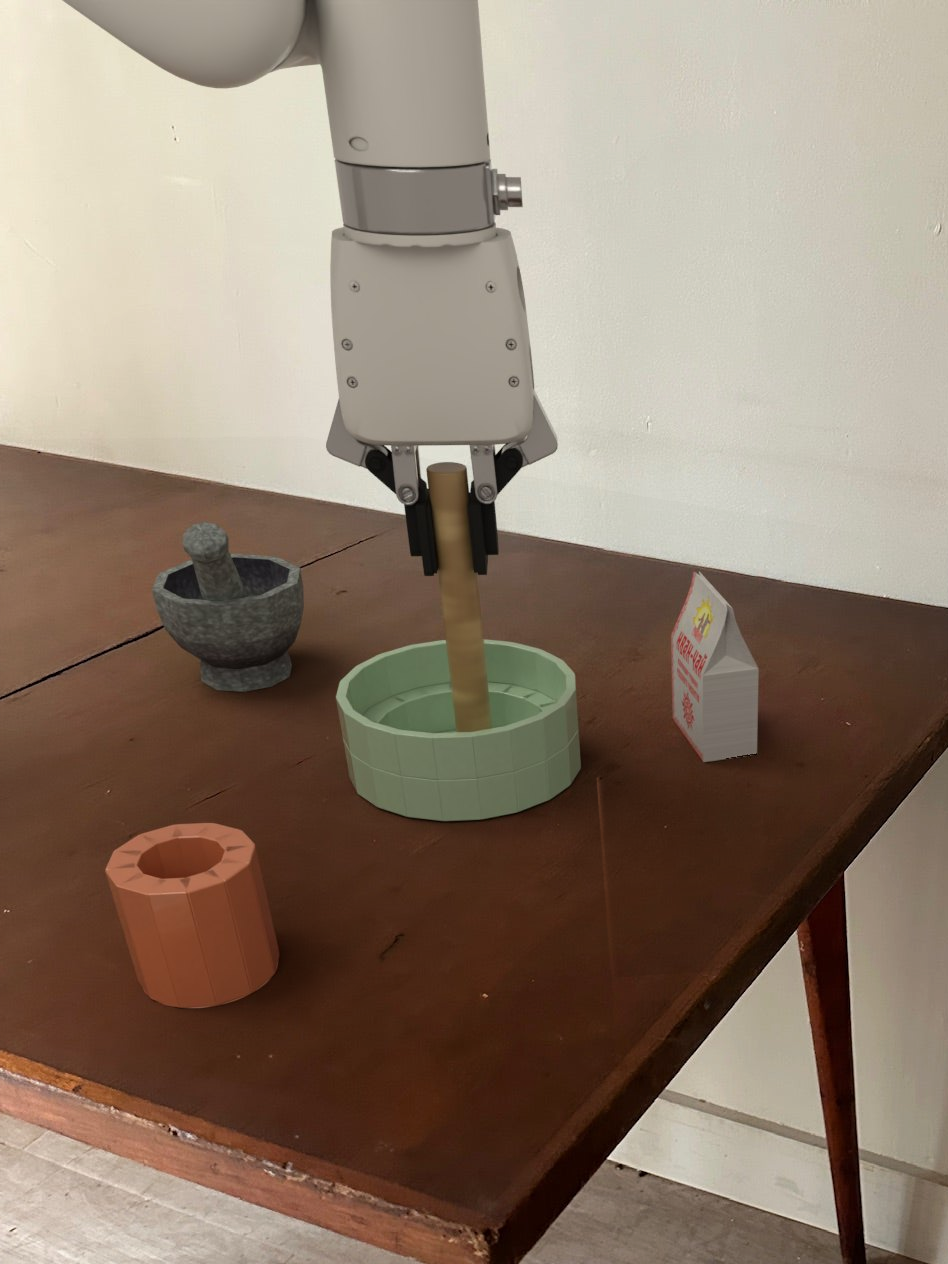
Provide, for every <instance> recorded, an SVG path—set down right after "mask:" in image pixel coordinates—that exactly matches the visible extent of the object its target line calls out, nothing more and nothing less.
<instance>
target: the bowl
mask: <svg viewBox="0 0 948 1264" xmlns="http://www.w3.org/2000/svg"><path fill="white" fill-rule="evenodd" d="M483 639H484V638H483ZM484 649H485V659H486V670H487V680H488V690H489V700H490V710H491V721H492V728H491V729H486V730H480V731H474V732H456V724H455V715H454V707H453V698H452V689H451V681H450V672H449V663H448V654H447V646H446V639H441V640H434V641H427V642H422V643H421V642H420V643H413V644H408V645H405V646H402V647H398V648H395V649H392V650H388V651H385V652H382V653H379V654H376V655H374V656H373V657H371V658H369V659H367V660H365V661H363V662H361V663H359V664H357V665H355V666H354V667H353V668H352V669H350V671H349V672H348V673H347V674H345V676H344V677H343V678H341V679H340V681H339V683H338V687H337V691H336V694H335V701H336V707H337V714H338V718H339V724H340V730H341V735H342V742H343V747H344V753H345V760H346V765H347V770H348V776H349V777H348V778H349V779H350V781H351V783H352V786H353V787H354V789H355V791H356V793H357V794H358V796H360V797H362V798H363V799H365V800H366V801H367V802H369V803H370V804H372V805H373V806H374V807H376V808H378V809H380V810H384V811H387V812H391V813H393V814H397V815H400V816H404V817H406V818H412V819H413V818H414V819H421V820H422V819H423V820H429V821H438V822H439V821H440V822H455V821H457V822H458V821H480V820H486V819H492V818H497V817H502V816H506V815H512V814H516V813H519V812H523V811H525V810H527V809H530V808H532V807H536V806H538V805H540V804H543V803H546V802H548V801H550V800H551V799H553V798H555V797H556V796H557V795H559V794H560V793H561V792H563V791H565V790H566V789H567V788H569V787H570V786H571V785H572V784H573V782H574V780H575V778H576V777H577V776H578V774H579V772H580V771H581V769H582V761H581V760H582V759H581V746H580V745H581V744H580V729H579V714H578V698H577V680H576V679H577V678H576V674H575V672H574V671H573V669H571V667H569V665H568V664H567V663H566V661H564V660H563V659H562V658H559V657H557V656H556V655H554V654H552V653H550V652H548V651H546V650H544V649H541V648H538V647H534V646H530V645H527V644H523V643H518V642H514V641H505V640H495V639H487V638H485V639H484Z"/></svg>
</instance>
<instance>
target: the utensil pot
mask: <svg viewBox="0 0 948 1264" xmlns="http://www.w3.org/2000/svg"><path fill="white" fill-rule="evenodd" d="M104 871H105V875H106V879H107V882H108V885H109V889H110V892H111V895H112V898H113V902H114V905H115V908H116V909H115V910H116V912H117V916H118V919H119V922H120V925H121V928H122V933H123V935H124V938H125V942H126V945H127V948H128V952H129V955H130V959H131V962H132V965H133V969H134V972H135V974H136V975H135V976H136V978H137V982H138V983H139V985H140V986H141V988H142V989H143V992H144V993H145V994H146V995H147V996H148V998H149V999H150V1000H152V1001H155V1002H157V1003H159V1004H162V1005H164V1006H169V1007H173V1008H174V1007H175V1008H178V1009H179V1008H181V1009H203V1008H210V1007H211V1008H213V1007H216V1006H221V1005H225V1004H226V1005H227V1004H230V1003H232V1002H236V1001H238V1000H241V999H243V998H246V997H247V996H249V995H252V994H253V993H255V992H256V991H258V990H260V989H261V988H262V987H263V986H265V985H266V984H267V983H268V982H269V981H270V980H271V979H272V978H273V976H274V975H275V974H276V971H277V969H278V966H279V959H280V955H281V953H280V950H279V945H278V940H277V935H276V931H275V927H274V922H273V919H272V913H271V910H270V904H269V901H268V895H267V892H266V887H265V883H264V878H263V874H262V869H261V865H260V860H259V855H258V851H257V847H256V844H255V843H254V841H252V840H251V839H250V838H249V836H248V835H247V834H246V833H245V832H244V831H243V830H241V829H240V828H235V827H231V826H228V825H223V824H219V823H216V822H197V823H176V824H171V825H167V826H164V827H161V828H157V829H154V830H150V831H147V832H143V833H140V834H138V835H136V836H134V837H133V838H131V839H130V840H128V841H127V842H125V843H123V844H122V845H120V846H119V847H117V848H116V849H114V850H113V852H112V854H111V856H110V858H109V861H108V862H107V864H106V867H105V869H104Z"/></svg>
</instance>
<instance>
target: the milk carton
mask: <svg viewBox="0 0 948 1264" xmlns="http://www.w3.org/2000/svg"><path fill="white" fill-rule="evenodd" d="M670 658H671V659H670V660H671V661H670V664H671V665H670V666H671V667H670V668H671V705H672V706H671V708H672V709H671V710H672V712H671V713H672V715H671V717H672V720H673V722H674V723H675V724H676V726H677V727H678V729H679V730H680V732H681V733H682V734H683V735H684V737H685V739H686V740H687V741H688V743H689V745H690V746H691V747H692V749H693V750H694V752H695V753H696V754H697V756H698V757H699V759H700V760H701V761H702V763H708V762H715V761H722V760H727V759H726V758H729V759H732V758H731V757H736V758H738V757H737V756H742V755H747V754H748V755H750V754H756V753H757V754H758V729H759V728H758V726H759V725H758V721H759V718H758V717H759V714H758V713H759V673H760V671H759V667H758V664H757V662H756V660H755V658H754V657H753V654H752V652H751V651H750V649H749V647H748V645H747V643H746V641H745V639H744V637H743V635H742V633H741V631H740V627H739V624H738V623H737V620H736V615H735V612H734V608H733V607H732V606H731V605H730V604H729V602H728V601H727V600H726V599H725V598H724V597H723V596H722V595H721V593H720V592H719V591H718V590H717V589H716V588H715V587H714V585H712V584H711V582H710V581H709V580H708V579H707V578H706V577H705V576H704V575H703V574H702V572H701V571H698V573H697V572H695V571H693V572H692V578H691V582H690V586H689V590H688V593H687V595H686V599H685V601H684V603H683V605H682V608H681V610H680V613H679V615H678V617H677V620H676V621H675V625H674V627H673V629H672V632H671V634H670ZM750 756H751V755H750Z"/></svg>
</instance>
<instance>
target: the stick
mask: <svg viewBox="0 0 948 1264" xmlns="http://www.w3.org/2000/svg"><path fill="white" fill-rule="evenodd" d="M425 472H426V478H427V488H428V489H429V498H430V503H431V512H432V520H433V529H434V538H435V546H436V555H437V564H438V571H437V575H438V585H439V594H440V602H441V610H442V619H443V627H444V637H445V640H446V646H447V654H448V663H449V672H450V681H451V689H452V698H453V707H454V715H455V724H456V732H474V731H480V730H486V729H491V728H492V721H491V710H490V700H489V690H488V680H487V670H486V659H485V649H484V631H483V621H482V611H481V599H480V591H479V590H480V589H479V588H480V587H479V580H478V579H479V577H478V573H474V568H473V558H472V548H471V538H470V528H469V518H468V501H469V500H470V496H469V492H470V489H469V478H468V468H467V466H466V465H465V464H463V463H459V462H455V461H441V462H435V463H432V464H429V465H428V466H427V467H426V469H425Z"/></svg>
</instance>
